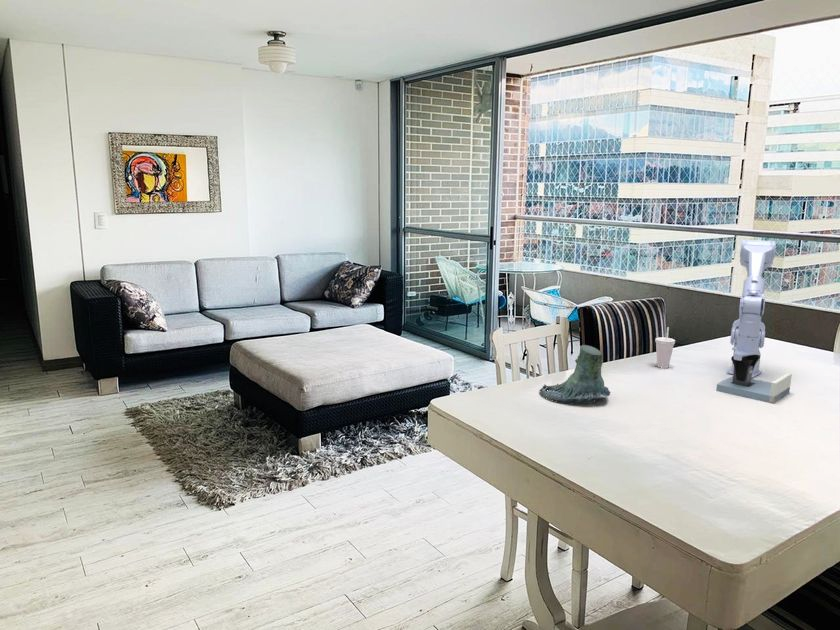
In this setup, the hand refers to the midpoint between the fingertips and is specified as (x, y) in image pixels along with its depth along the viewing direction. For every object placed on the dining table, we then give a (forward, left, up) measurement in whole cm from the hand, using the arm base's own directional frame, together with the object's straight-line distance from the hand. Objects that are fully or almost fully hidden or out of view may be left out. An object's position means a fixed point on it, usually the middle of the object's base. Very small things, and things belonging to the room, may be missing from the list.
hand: (743, 379), depth 194 cm
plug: (0, 0, -2) cm, 2 cm away
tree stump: (+43, -31, -4) cm, 53 cm away
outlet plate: (0, +3, -3) cm, 4 cm away
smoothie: (-6, -28, -3) cm, 29 cm away
